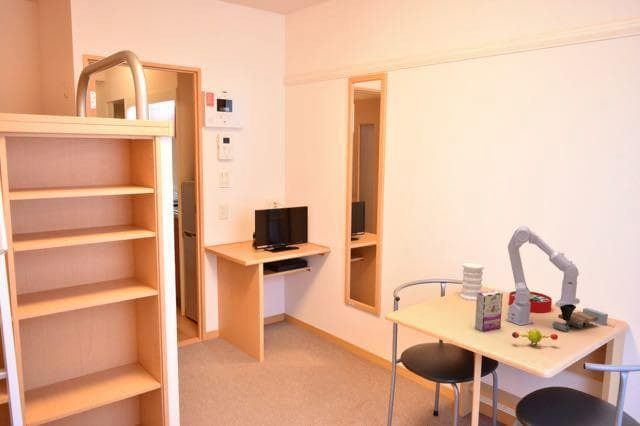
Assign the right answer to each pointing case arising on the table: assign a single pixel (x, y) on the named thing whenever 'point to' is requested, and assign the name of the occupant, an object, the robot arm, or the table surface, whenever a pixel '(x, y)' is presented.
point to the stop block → (601, 316)
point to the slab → (580, 318)
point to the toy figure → (534, 336)
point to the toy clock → (535, 302)
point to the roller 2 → (575, 324)
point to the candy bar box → (488, 310)
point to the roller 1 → (560, 326)
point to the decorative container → (471, 281)
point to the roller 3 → (586, 324)
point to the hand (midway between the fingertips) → (566, 320)
